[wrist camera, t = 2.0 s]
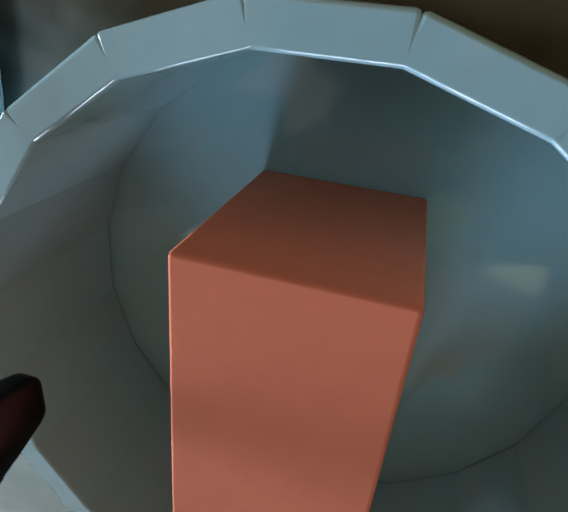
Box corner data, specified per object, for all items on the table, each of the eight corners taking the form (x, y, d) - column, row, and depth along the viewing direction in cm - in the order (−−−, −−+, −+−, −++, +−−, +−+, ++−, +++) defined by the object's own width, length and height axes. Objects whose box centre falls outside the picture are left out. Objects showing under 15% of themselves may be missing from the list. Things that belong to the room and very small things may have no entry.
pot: (516, 536, 15) (549, 738, 11) (116, 414, 18) (17, 536, 14) (765, 50, 9) (1094, 74, 4) (77, -21, 12) (-136, -49, 7)
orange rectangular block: (373, 418, 14) (347, 592, 10) (246, 384, 15) (171, 530, 11) (428, 197, 11) (425, 309, 7) (263, 168, 12) (165, 251, 7)
